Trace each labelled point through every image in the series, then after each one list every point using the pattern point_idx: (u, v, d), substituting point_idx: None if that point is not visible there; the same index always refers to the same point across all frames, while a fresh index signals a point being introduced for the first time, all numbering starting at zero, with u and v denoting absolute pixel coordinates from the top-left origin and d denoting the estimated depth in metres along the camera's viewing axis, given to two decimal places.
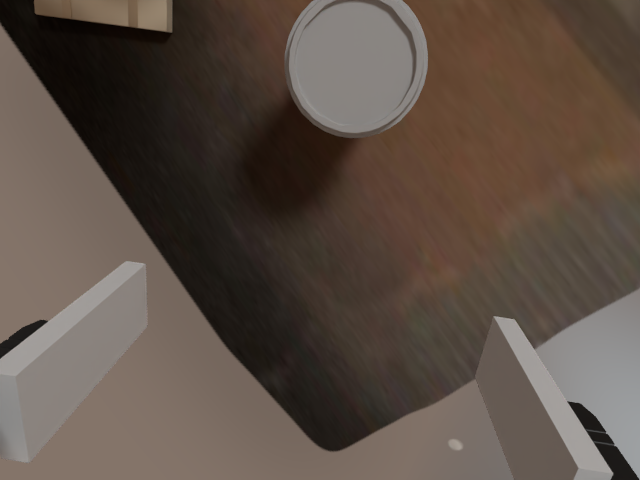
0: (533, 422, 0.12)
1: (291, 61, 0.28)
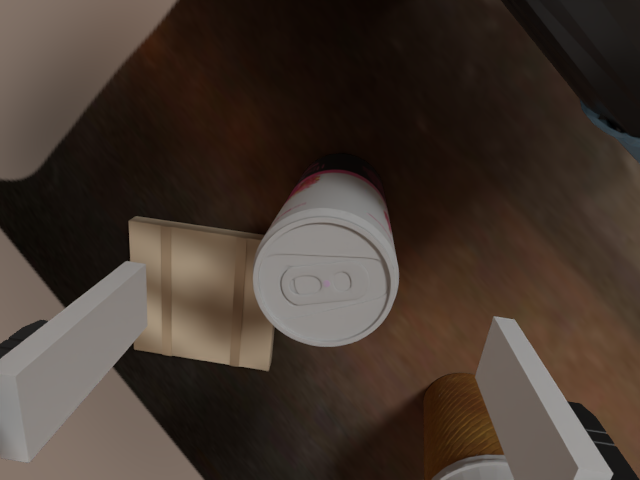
0: (533, 422, 0.12)
1: None
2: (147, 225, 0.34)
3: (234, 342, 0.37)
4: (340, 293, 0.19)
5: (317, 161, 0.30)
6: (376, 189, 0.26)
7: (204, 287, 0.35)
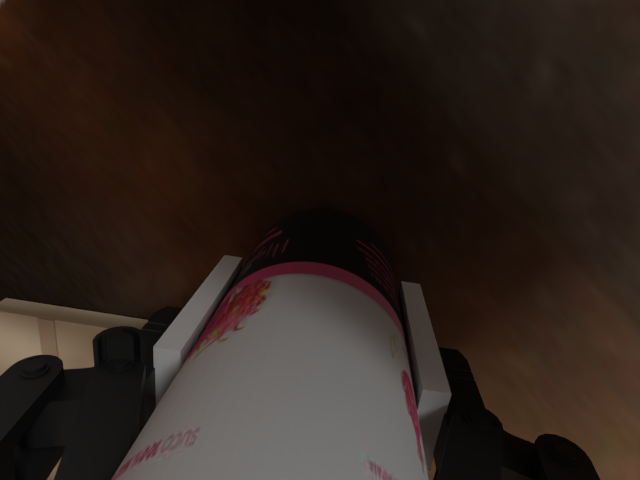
0: (409, 362, 0.14)
1: None
2: (17, 316, 0.21)
3: None
4: None
5: (281, 224, 0.18)
6: (383, 301, 0.13)
7: None
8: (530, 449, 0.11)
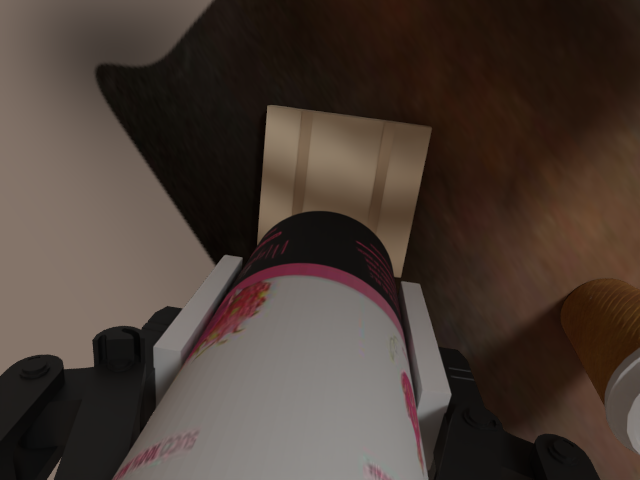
0: (409, 362, 0.14)
1: (633, 409, 0.25)
2: (287, 110, 0.32)
3: None
4: None
5: (281, 225, 0.18)
6: (383, 302, 0.13)
7: (342, 182, 0.33)
8: (530, 449, 0.11)
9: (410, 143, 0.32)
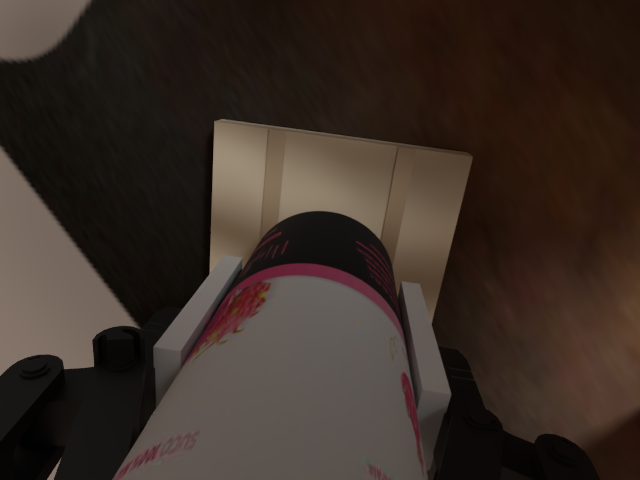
0: (409, 362, 0.14)
1: None
2: (245, 129, 0.20)
3: None
4: None
5: (281, 225, 0.18)
6: (383, 303, 0.13)
7: None
8: (530, 449, 0.11)
9: (438, 180, 0.20)
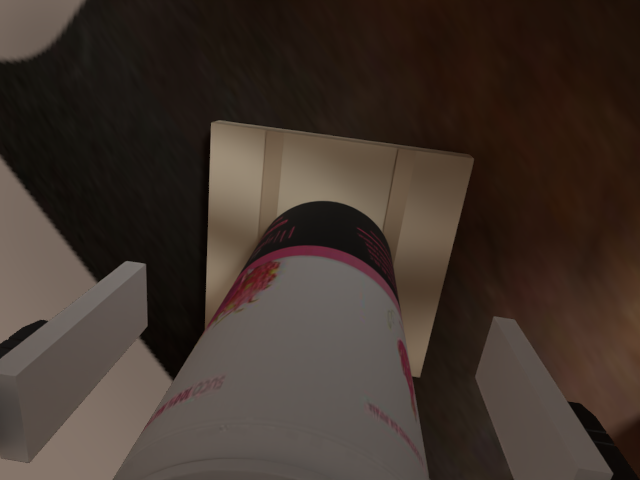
0: (533, 422, 0.12)
1: None
2: (243, 130, 0.20)
3: None
4: None
5: (287, 214, 0.19)
6: (382, 281, 0.14)
7: None
8: None
9: (439, 182, 0.20)
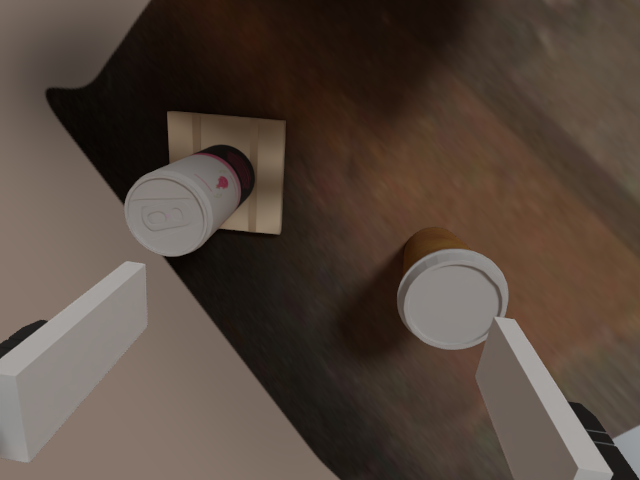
0: (533, 422, 0.12)
1: (406, 304, 0.37)
2: (181, 114, 0.44)
3: (251, 211, 0.47)
4: (177, 221, 0.32)
5: None
6: (227, 164, 0.38)
7: None
8: None
9: (270, 133, 0.44)
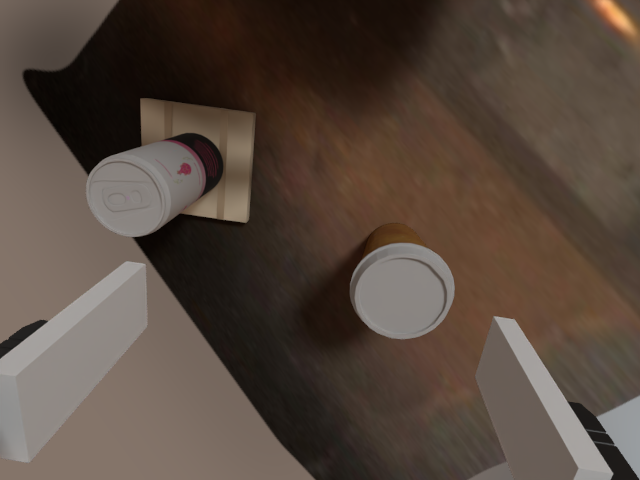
0: (533, 422, 0.12)
1: (356, 293, 0.39)
2: (154, 102, 0.45)
3: (220, 199, 0.48)
4: (136, 203, 0.33)
5: None
6: (192, 152, 0.40)
7: None
8: None
9: (240, 124, 0.45)
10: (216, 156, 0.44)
